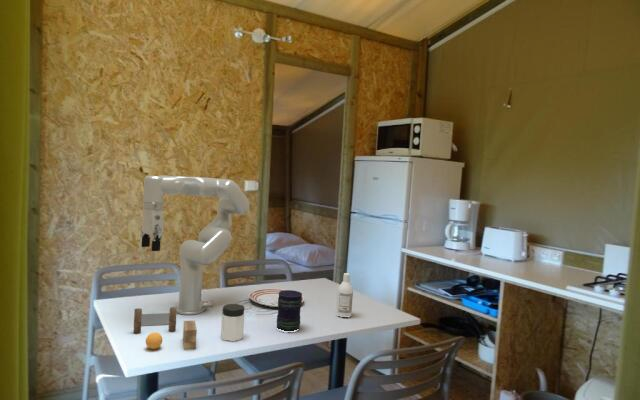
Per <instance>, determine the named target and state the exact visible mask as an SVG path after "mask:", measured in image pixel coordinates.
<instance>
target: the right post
mask: <svg viewBox="0 0 640 400" xmlns="http://www.w3.org/2000/svg"><path fill="white" fill-rule="evenodd" d="M176 307H177V306H175V307H174V306H172V307H169V312H168V313H169V325H168V333H176V330H177V329H176V327H177V314H178V313H177V308H176Z"/></svg>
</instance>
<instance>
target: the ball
mask: <svg viewBox="0 0 640 400" xmlns="http://www.w3.org/2000/svg"><path fill="white" fill-rule="evenodd" d="M145 344H146V346H147V348H149V349H152V350H157V349H158V348H160V347H161V345H162V344H163V337H162V335H161V334H160V333H158V332H152V333H149V334H148V335H147V337H146V338H145Z"/></svg>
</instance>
